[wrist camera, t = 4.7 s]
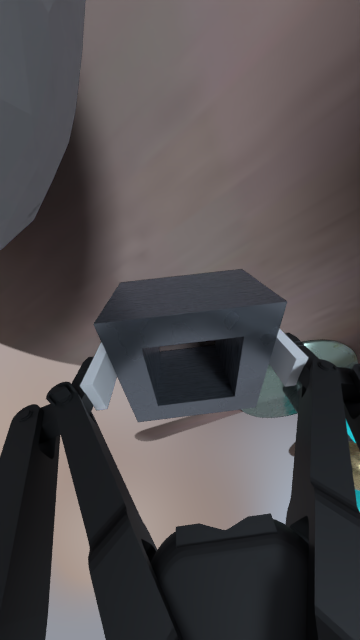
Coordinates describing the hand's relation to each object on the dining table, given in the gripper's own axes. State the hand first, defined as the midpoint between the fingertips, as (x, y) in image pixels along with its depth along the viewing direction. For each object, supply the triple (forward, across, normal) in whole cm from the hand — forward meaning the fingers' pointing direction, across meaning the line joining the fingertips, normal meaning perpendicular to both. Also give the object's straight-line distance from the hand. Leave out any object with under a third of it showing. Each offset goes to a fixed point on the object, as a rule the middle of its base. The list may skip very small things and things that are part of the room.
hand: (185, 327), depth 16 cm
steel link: (0, 0, 0) cm, 0 cm away
